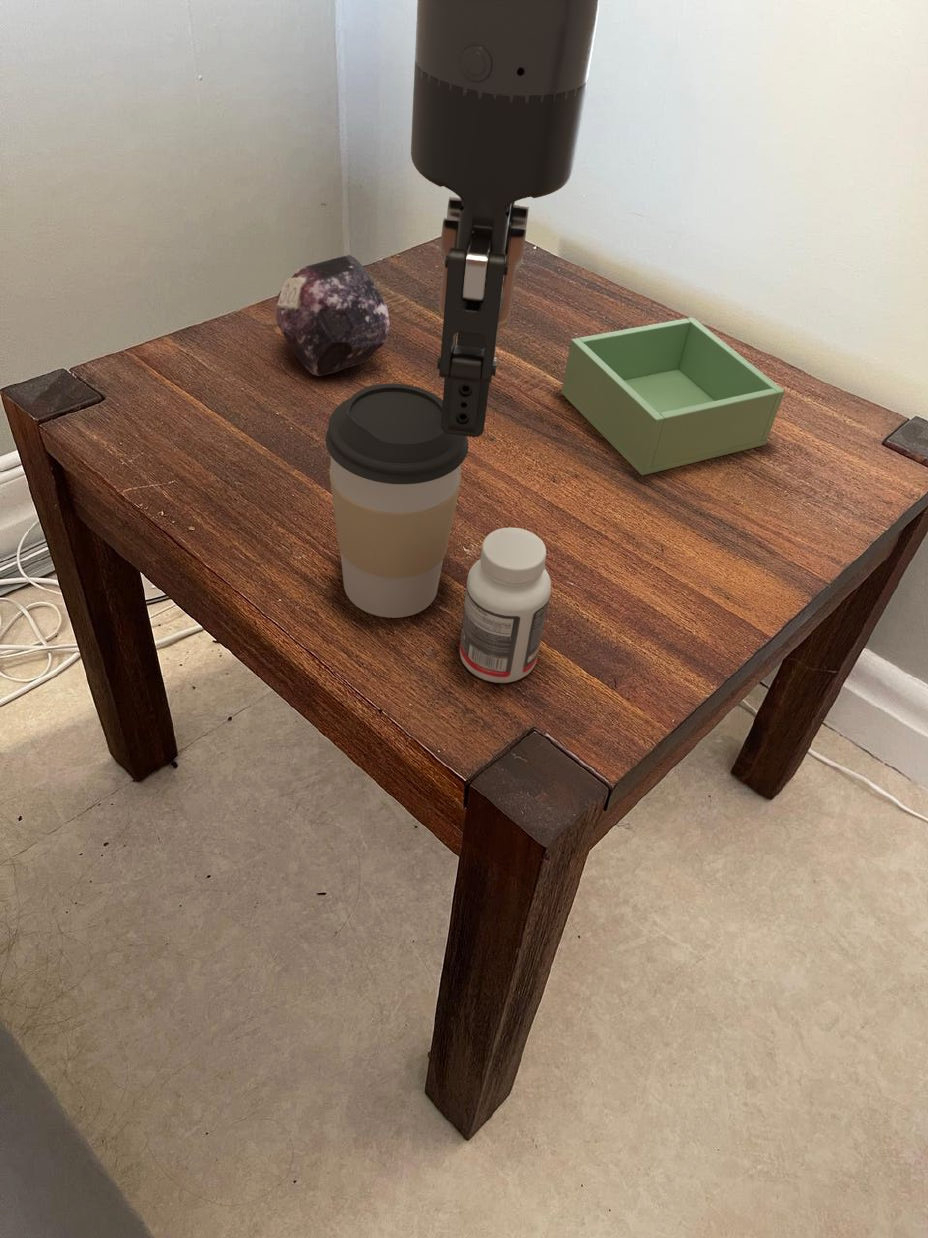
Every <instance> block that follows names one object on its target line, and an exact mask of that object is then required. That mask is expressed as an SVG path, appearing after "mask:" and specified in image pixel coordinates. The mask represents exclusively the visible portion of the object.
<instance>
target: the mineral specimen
mask: <svg viewBox="0 0 928 1238" xmlns="http://www.w3.org/2000/svg"><path fill="white" fill-rule="evenodd" d="M276 297H277V300H276V307H275V320H276V323H277V326H278V328H279V330H280V332H281V334H282V336H283V337H284V339H285V341H286V343H287V344H288V345H289V347H290V349H291V350H292V352H293V353H294V354H295V356H296V357H297V359H298V360H299V362H300V363H301V365H302V366H303V367H304V368H305V370H307V371H308V372H309V373H311V375H314V376H317V377H321V376H325V375H329V374H334V373H337V372H340V371H343V370H345V369H349V368H351V367H354V366H357V365H358V366H359V365H360V364H364V363H366V362H367V361H369V360H370V359H371V358H372V357H373V356H374V355H375V354H376V353H377V352H378V350H380V349H381V348H382V347H383V346H384V345H385V344H386V342H387V339H388V335H389V331H390V318H389V309H388V306H387V304H386V302H385V300H384V298H383V296H382V294H381V293H380V292H379V290H378V288H377V287H376V285H375V282H374V281H373V279H372V278H371V276H370V275H369V273H368V272H367V270H366V269H365V267H364V266H363V265H362V264H361V262H360V261H359V260H358V259H357V258H355V257H354V256H353V255H351V254H347V255H343V256H338V257H335V258H331V259H327V260H324V261H321V262H317V263H313V264H309V265H306V266H303V267H299V268H297V269H296V270H295V272H294V273H293V274H292V275H291V277H289V278H287V279H286V280H285V281H284V283H283V286H282V288H281V290H280V291H279V292H278V294H277V296H276Z"/></svg>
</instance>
